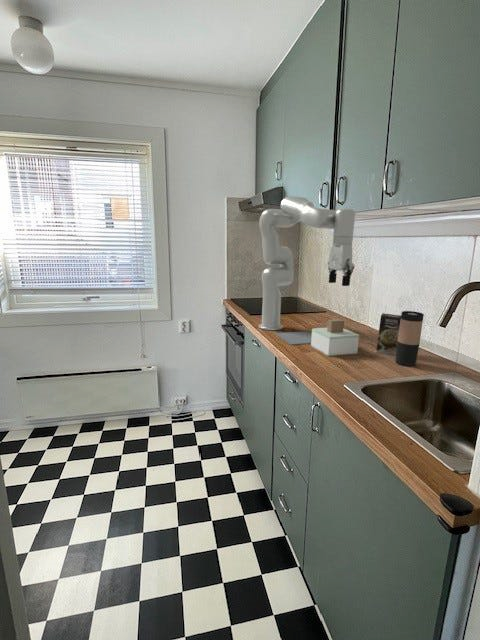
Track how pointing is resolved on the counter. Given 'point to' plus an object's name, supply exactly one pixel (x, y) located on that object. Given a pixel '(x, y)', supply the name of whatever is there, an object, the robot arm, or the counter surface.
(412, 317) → the travel mug
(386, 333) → the coffee box
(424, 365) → the counter surface
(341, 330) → the lid
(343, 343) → the storage box
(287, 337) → the mat
